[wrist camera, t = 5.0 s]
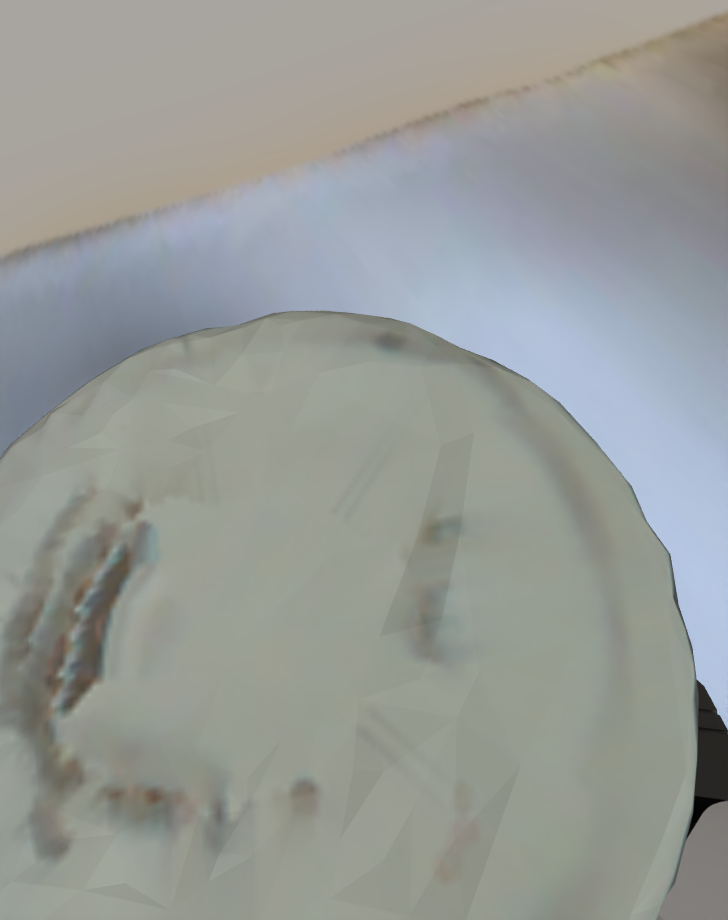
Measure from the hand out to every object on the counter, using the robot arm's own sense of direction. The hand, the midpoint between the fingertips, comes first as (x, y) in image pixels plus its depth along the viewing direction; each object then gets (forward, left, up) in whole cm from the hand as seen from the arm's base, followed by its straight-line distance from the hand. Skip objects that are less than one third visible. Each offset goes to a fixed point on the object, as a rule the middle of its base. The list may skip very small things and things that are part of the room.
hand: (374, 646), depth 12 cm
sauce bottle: (+1, +1, -11) cm, 11 cm away
